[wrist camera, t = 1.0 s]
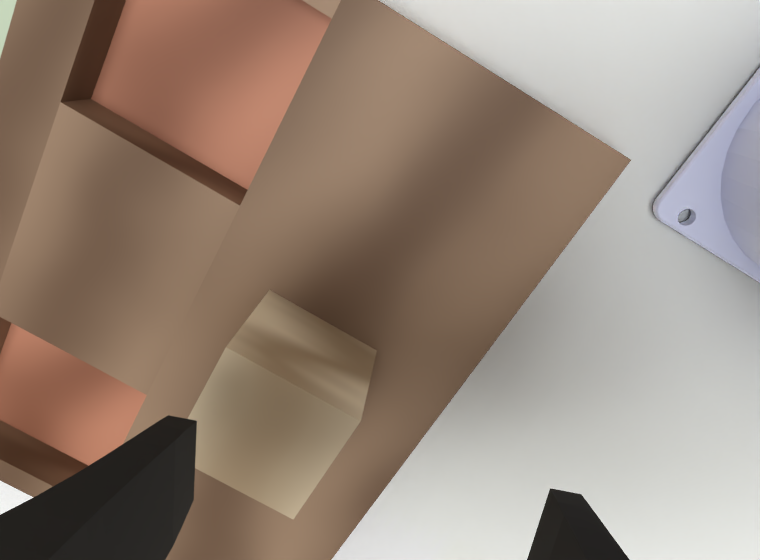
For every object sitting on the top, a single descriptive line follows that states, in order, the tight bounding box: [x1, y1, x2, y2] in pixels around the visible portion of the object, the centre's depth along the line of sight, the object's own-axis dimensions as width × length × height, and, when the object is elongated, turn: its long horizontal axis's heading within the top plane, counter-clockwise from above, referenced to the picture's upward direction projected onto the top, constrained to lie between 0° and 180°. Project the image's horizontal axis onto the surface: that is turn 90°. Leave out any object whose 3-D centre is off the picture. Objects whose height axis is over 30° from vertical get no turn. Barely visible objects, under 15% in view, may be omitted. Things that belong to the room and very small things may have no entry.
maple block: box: [188, 290, 377, 519], centre depth 18 cm, size 4×4×4 cm
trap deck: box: [0, 0, 631, 560], centre depth 20 cm, size 24×22×2 cm
